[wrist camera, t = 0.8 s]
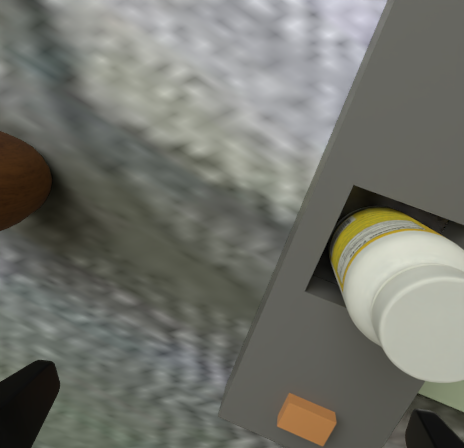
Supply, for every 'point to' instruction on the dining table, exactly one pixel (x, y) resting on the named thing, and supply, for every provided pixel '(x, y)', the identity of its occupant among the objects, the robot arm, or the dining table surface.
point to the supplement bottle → (403, 290)
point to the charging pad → (445, 393)
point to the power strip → (322, 224)
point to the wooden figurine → (21, 180)
